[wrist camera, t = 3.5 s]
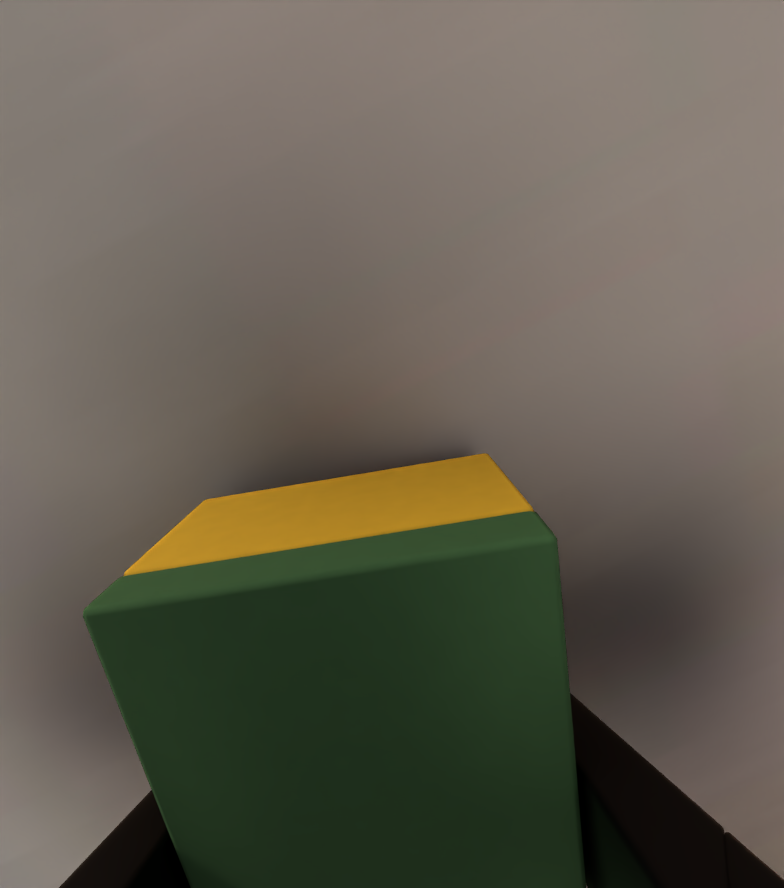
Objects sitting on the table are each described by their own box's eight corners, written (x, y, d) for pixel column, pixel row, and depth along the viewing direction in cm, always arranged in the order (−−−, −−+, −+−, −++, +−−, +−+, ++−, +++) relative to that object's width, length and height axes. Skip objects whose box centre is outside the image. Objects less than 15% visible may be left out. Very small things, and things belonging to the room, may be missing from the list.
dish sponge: (530, 810, 10) (601, 1044, 7) (304, 842, 10) (265, 1084, 7) (488, 451, 8) (559, 535, 5) (203, 498, 8) (75, 611, 5)
